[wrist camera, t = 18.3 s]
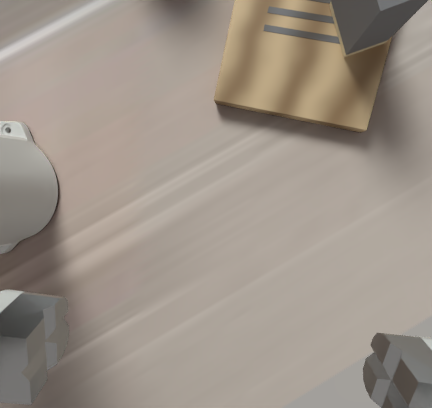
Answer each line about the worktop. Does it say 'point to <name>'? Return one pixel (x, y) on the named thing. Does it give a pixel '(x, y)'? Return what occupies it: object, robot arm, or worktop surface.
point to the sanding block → (370, 21)
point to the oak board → (297, 65)
